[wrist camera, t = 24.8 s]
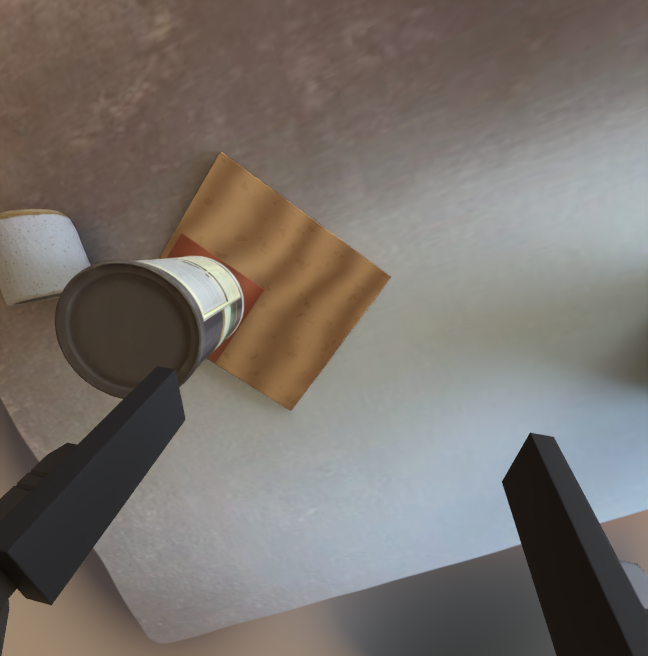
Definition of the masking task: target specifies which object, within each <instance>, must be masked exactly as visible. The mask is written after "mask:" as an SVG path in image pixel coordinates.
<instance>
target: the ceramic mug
mask: <svg viewBox="0 0 648 656" xmlns="http://www.w3.org/2000/svg"><path fill="white" fill-rule="evenodd" d="M89 266H91V265H90V263H89V260H88V258H87V255H86V253H85V251H84V248H83V246H82V244H81V241H80V238H79V235H78V233H77V231H76V229H75V227H74V225H73V224H72V222H71V221H70V219H69V218H68V217H67V216H66V215H64V214H62V213H60V212H58V211H54V210H46V209H23V210H13V211H6V212H1V213H0V289H1V292H2V294H3V297H4V300H5V302H6V303H7V305H10V306H17V305H24V304H30V303H35V302H41V301H46V300H51V299H56V298H60V295H61V293H62V291H63V290H64V288H65V287H66V285H67V284H68V282H69V281H70V280H71V279H72V278H73V277H74V276H75V275H76V274H78V273H79V272H80V271H82V270H83V269H85V268H87V267H89Z"/></svg>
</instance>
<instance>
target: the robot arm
mask: <svg viewBox="0 0 648 656" xmlns="http://www.w3.org/2000/svg"><path fill="white" fill-rule="evenodd" d="M184 421H185V415H184V410H183V405H182V400H181V395H180V390H179V385H178V380H177V375H176V370H175V369H172V368H166V367H160V366H157V367H156V368H155V369H154V370H153V371H152V372H151V373H150V374H149V375H148V376H147V377H145V378H144V379H143V380H142V381H141V382H140V383H139V384H138V385H137V386H136V387H135V388H134V389H133V390H132V391H131V392H130V393H129V394H128V395H127V396H126V397H125V398H124V399H123V400H122V401H121V402H120V403H119V404H118V405H117V406H116V407H115V408H114V409H113V410H112V411H111V412H110V413H109V414H108V415H107V416H106V417H105V418H104V419H103V420H102V421H101V422H100V423H99V424H98V425H97V426H96V427H95V428H94V429H93V430H92V431H91V432H90V433H89V434H88V435H87V436H86V437H85V438H84V439H83V440H82V441H81V442H80V443H79V444H78V445H76V444H71V443H66V444H64V445H63V446H61V447H59V448H58V449H56V450H54V451H53V452H51V453H49V454H48V455H47V456H46V457H44V458H43V459H42V460H41V461H40V462H39V463H38V464H37V465H36V466H35V467H34V468H33V469H32V470H31V472H30V473H27V474H26V475H25V476H24V477H23V478H22V479H21V480H20V481H19V482H18V483H17V485H16V486H13V488H11V489H10V490H9V491H8V492H7V493H6V494H5V495H4V496H3V497H2V498H1V499H0V656H1V655H2V649H3V643H4V637H5V631H6V625H7V619H8V613H9V600H8V598H9V597H10V596H11V595H12V594H13V592H14V591H15V590H16V589H18V590H19V591H20V592H21V593H22V595H24V597H25V598H27V599H31V600H34V601H38V602H42V603H45V604H49V605H52V604H53V602H54V601H55V600H56V598H57V597H58V595H59V594H60V593H61V591H62V590H63V589H64V587H65V586H66V584H67V583H68V582H69V580H70V579H71V578H72V576H73V575H74V573H75V572H76V571H77V569H78V568H79V566H80V565H81V564H82V562H83V561H84V559H85V558H86V557H87V555H88V554H89V552H90V551H91V550H92V548H93V547H94V546H95V544H96V543H97V541H98V540H99V539H100V537H101V536H102V535H103V533H104V532H105V530H106V529H107V528H108V526H109V525H110V523H111V522H112V521H113V519H114V518H115V517H116V515H117V514H118V512H119V511H120V510H121V508H122V507H123V505H124V504H125V503H126V501H127V500H128V498H129V497H130V496H131V494H132V493H133V492H134V490H135V489H136V487H137V486H138V485H139V483H140V482H141V480H142V479H143V478H144V476H145V475H146V474H147V472H148V471H149V469H150V468H151V467H152V465H153V464H154V462H155V461H156V460H157V458H158V457H159V456H160V454H161V453H162V451H163V450H164V449H165V447H166V446H167V444H168V443H169V442H170V440H171V439H172V437H173V436H174V435H175V433H176V432H177V431H178V429H179V428H180V426H181V425H182V424H183V422H184ZM502 483H503V487H504V490H505V493H506V496H507V499H508V502H509V506H510V509H511V512H512V515H513V518H514V522H515V525H516V528H517V531H518V534H519V537H520V541H521V544H522V547H523V550H524V553H525V556H526V559H527V563H528V566H529V569H530V572H531V575H532V579H533V582H534V585H535V588H536V592H537V595H538V598H539V601H540V604H541V607H542V611H543V614H544V617H545V620H546V623H547V626H548V629H549V633H550V636H551V639H552V642H553V646H554V649H555V652H556V655H557V656H648V575H647V574H646V573H645V572H644V571H643V570H642V569H641V568H640V567H639V565H638V564H635V563H631V562H626V561H621V560H619V559H618V558H617V556H616V554H615V552H614V550H613V548H612V546H611V544H610V542H609V540H608V539H607V537H606V535H605V533H604V531H603V529H602V527H601V525H600V523H599V521H598V520H597V518H596V516H595V514H594V512H593V510H592V508H591V506H590V505H589V503H588V501H587V499H586V497H585V495H584V493H583V491H582V489H581V488H580V486H579V484H578V482H577V480H576V478H575V476H574V474H573V472H572V471H571V469H570V467H569V465H568V463H567V461H566V459H565V457H564V456H563V454H562V452H561V450H560V448H559V446H558V444H557V442H556V440H555V439H554V437H551V436H545V435H540V434H534V433H530V434H529V436H528V437H527V439H526V441H525V443H524V444H523V446H522V448H521V450H520V451H519V453H518V455H517V456H516V458H515V460H514V462H513V463H512V465H511V467H510V469H509V470H508V472H507V474H506V476H505V477H504V479H503V481H502Z"/></svg>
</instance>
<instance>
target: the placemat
mask: <svg viewBox="0 0 648 656" xmlns="http://www.w3.org/2000/svg"><path fill="white" fill-rule="evenodd" d="M184 256H204V257H207V258H210V259H213V260H215V261H217V262H219V263H221V264H223V265H224V266H225V267H226V268H227V269H228V270H229V271H230V272H231V273H232V274H233V275H234V276H235V278H236V279H237V281H238V283H239V285H240V287H241V289H242V292H243V297H244V312H243V317H242V320H241V322H240V324H239V326H238V328H237V329H236V330H235V331H234V333H233V334H232V335H230V336H229V337H228V338H227V339H225V340H224V341H223V343H222V344H220V345H219V346H218V347H217V348H216V349H215V350H214V351H213V352H212V353H211V354H210V355H209V356H208V357H207V359H209V360H210V361H212V362H214V363H215V364H217V365H218V366H220V367H222V368H223V369H225V370H226V371H228V372H230V373H231V374H233V375H234V376H236V377H238V378H239V379H241V380H242V381H244V382H246V383H247V384H249V385H250V386H252V387H254V388H255V389H257V390H258V391H260V392H262V393H263V394H265V395H266V396H268V397H270V398H271V399H273V400H274V401H276V402H278V403H279V404H281V405H282V406H284V407H286V408H287V409H289V410H290V411H291V410H292V409H293V408H294V406H295V405H296V404H297V402H298V401H299V400H300V398H301V397H302V396H303V394H304V393H305V392H306V390H307V389H308V388H309V386H310V385H311V384H312V382H313V381H314V380H315V378H316V377H317V376H318V374H319V373H320V372H321V370H322V369H323V368H324V366H325V365H326V364H327V362H328V361H329V360H330V358H331V357H332V355H333V354H334V353H335V351H336V350H337V349H338V347H339V346H340V345H341V343H342V342H343V341H344V339H345V338H346V337H347V335H348V334H349V333H350V331H351V330H352V329H353V327H354V326H355V325H356V323H357V322H358V321H359V319H360V318H361V317H362V315H363V314H364V313H365V311H366V310H367V309H368V307H369V306H370V305H371V303H372V302H373V301H374V299H375V298H376V297H377V295H378V294H379V293H380V291H381V290H382V289H383V287H384V286H385V285H386V283H387V282H388V280H389V279H390V278H391V276H389V275H388V274H387V273H385V272H384V271H382V270H381V269H380V268H378V267H377V266H376V265H374V264H373V263H372V262H370V261H369V260H368V259H366V258H365V257H363V256H362V255H361V254H359V253H358V252H357V251H355V250H354V249H353V248H351V247H350V246H348V245H347V244H346V243H344V242H343V241H342V240H340V239H339V238H338V237H336V236H335V235H334V234H332V233H331V232H329V231H328V230H327V229H325V228H324V227H323V226H321V225H320V224H319V223H317V222H316V221H315V220H313V219H312V218H310V217H309V216H308V215H306V214H305V213H304V212H302V211H301V210H300V209H298V208H297V207H296V206H294V205H293V204H291V203H290V202H289V201H287V200H286V199H285V198H283V197H282V196H281V195H279V194H278V193H277V192H275V191H274V190H272V189H271V188H270V187H268V186H267V185H266V184H264V183H263V182H262V181H260V180H259V179H258V178H256V177H255V176H253V175H252V174H251V173H249V172H248V171H247V170H245V169H244V168H243V167H241V166H240V165H239V164H237V163H236V162H234V161H233V160H232V159H230V158H229V157H228V156H226V155H225V154H224V153H222V152H220V153H219V155H218V157H217V159H216V160H215V162H214V164H213V166H212V167H211V169H210V171H209V173H208V174H207V176H206V178H205V180H204V181H203V183H202V185H201V186H200V188H199V190H198V192H197V193H196V195H195V197H194V199H193V200H192V202H191V204H190V206H189V207H188V209H187V211H186V213H185V214H184V216H183V218H182V219H181V221H180V223H179V225H178V226H177V228H176V230H175V232H174V233H173V235H172V237H171V239H170V240H169V242H168V244H167V246H166V247H165V249H164V251H163V252H162V254H161V256H160V258H159V259H165V258H178V257H184Z"/></svg>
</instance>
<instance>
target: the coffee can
mask: <svg viewBox="0 0 648 656" xmlns="http://www.w3.org/2000/svg"><path fill="white" fill-rule="evenodd" d="M243 312H244V297H243V292H242V289H241V287H240V285H239V283H238V281H237V279H236V278H235V276H234V275H233V274H232V273H231V272H230V271H229V270H228V269H227V268H226V267H225V266H224V265H223V264H221V263H219V262H217V261H215V260H213V259H210V258H207V257H204V256H184V257H178V258H165V259H152V260H138V261H131V260H109V261H103V262H99V263H96V264H93V265H91V266H89V267H87V268H85V269H83V270H82V271H80V272H79V273H78V274H76V275H75V276H74V277H73V278H72V279H71V280H70V281H69V282H68V284H67V285H66V287H65V288H64V290H63V291H62V293H61V295H60V298H59V300H58V304H57V307H56V312H55V330H56V336H57V340H58V343H59V345H60V348H61V350H62V352H63V354H64V356H65V358H66V359H67V361H68V363H69V364H70V365H71V367H72V368H73V369H74V371H75V372H76V373H77V374H78V375H79V376H80V377H81V378H82V379H84V380H85V381H86V382H88V383H89V384H90V385H92V386H93V387H95V388H97V389H99V390H101V391H102V392H104V393H107V394H109V395H112V396H114V397H118V398H122V399H124V398H125V397H126V396H127V395H128V394H129V393H130V392H131V391H132V390H133V389H134V388H135V387H136V386H137V385H138V384H139V383H140V382H141V381H142V380H143V379H144V378H145V377H147V376H148V375H149V374H150V373H151V372H152V371H153V370H154V369H155V368H156V367H157V366H160V367H166V368H172V369H175V370H176V375H177V380H178V385H179V387H180V386H181V385H182V384H184V383H185V382H186V381H187V380H188V379H189V378H190V376H191V375H192V374H193V372H194V371H195V370H196V368H197V367H198V366H199V365H200V364H201V363H203V362H204V361H205V359H206V358H207V357H208V356H209V355H210V354H211V353H212V352H213V351H214V350H215V349H216V348H217V347H218V346H219V345H220V344H222V343H223V341H224V340H225V339H227V338H228V337H229V336H230V335H232V334H233V333H234V331H235V330H236V329H237V328H238V326H239V324H240V322H241V320H242V317H243Z"/></svg>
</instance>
